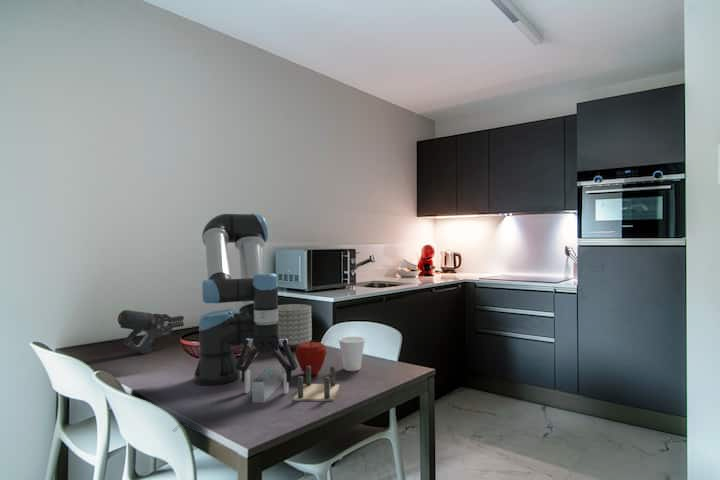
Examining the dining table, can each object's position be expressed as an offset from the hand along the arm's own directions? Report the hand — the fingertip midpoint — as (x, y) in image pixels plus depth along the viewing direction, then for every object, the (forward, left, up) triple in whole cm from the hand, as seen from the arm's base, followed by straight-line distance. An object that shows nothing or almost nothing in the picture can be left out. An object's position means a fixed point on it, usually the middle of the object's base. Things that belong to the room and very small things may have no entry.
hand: (266, 392), depth 129 cm
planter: (-8, +59, 0) cm, 60 cm away
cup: (+24, +26, 0) cm, 35 cm away
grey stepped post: (0, 0, 0) cm, 0 cm away
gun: (-68, +48, 0) cm, 83 cm away
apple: (+10, +19, 0) cm, 22 cm away
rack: (+16, +1, 0) cm, 16 cm away
